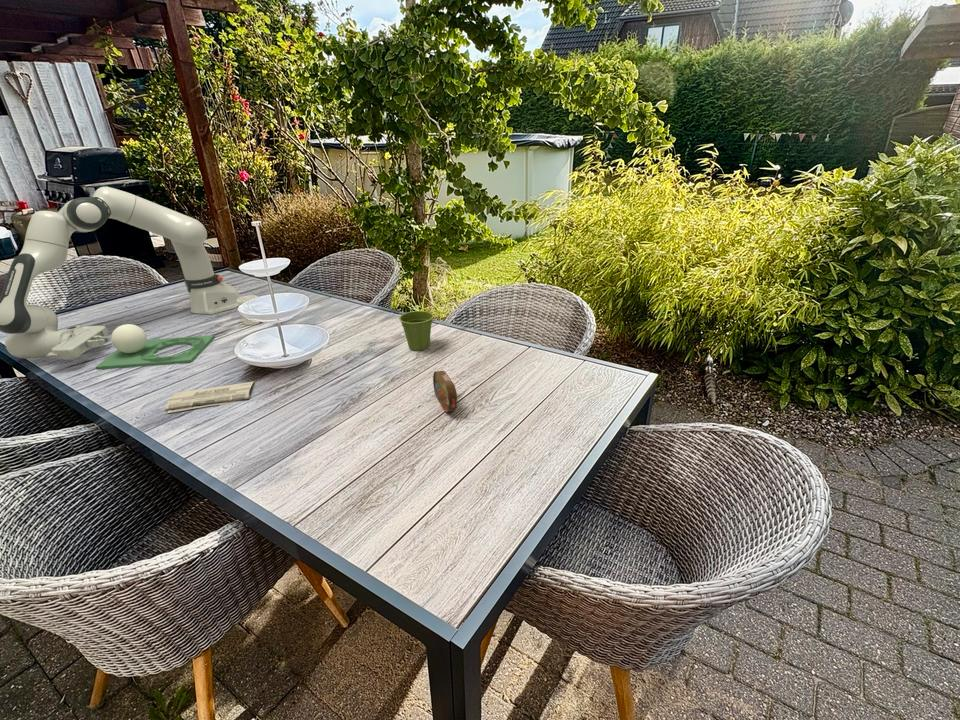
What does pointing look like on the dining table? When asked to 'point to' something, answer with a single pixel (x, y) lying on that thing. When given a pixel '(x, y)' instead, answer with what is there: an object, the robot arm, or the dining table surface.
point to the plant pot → (417, 328)
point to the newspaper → (208, 396)
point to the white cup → (243, 300)
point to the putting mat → (152, 347)
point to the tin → (445, 391)
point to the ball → (128, 338)
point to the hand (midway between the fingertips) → (106, 340)
